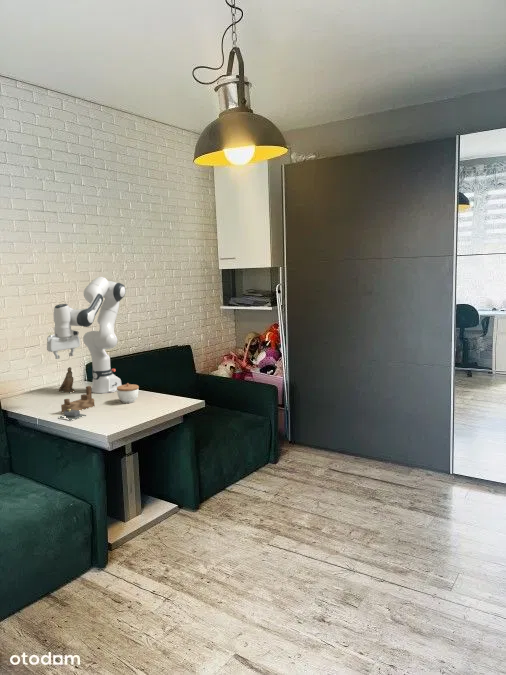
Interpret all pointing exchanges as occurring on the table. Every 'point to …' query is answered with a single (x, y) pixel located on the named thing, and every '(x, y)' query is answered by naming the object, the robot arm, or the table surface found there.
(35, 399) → the table surface
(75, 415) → the lever cap
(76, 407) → the plane body
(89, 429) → the table surface
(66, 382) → the worn brown figurine
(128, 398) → the lidded bowl
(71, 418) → the felt mat
